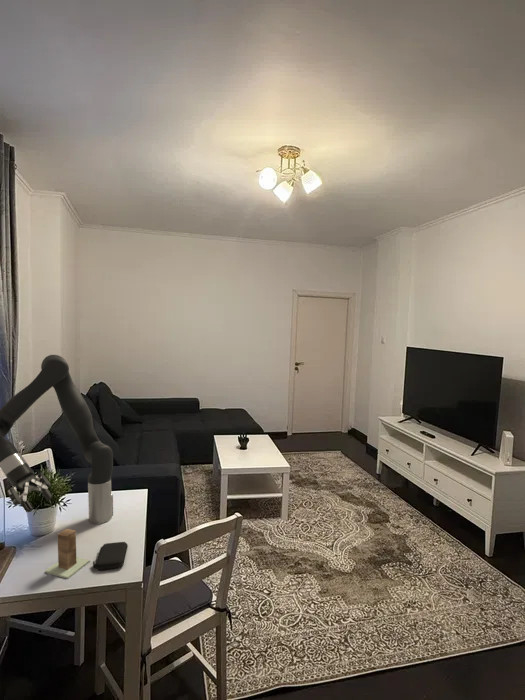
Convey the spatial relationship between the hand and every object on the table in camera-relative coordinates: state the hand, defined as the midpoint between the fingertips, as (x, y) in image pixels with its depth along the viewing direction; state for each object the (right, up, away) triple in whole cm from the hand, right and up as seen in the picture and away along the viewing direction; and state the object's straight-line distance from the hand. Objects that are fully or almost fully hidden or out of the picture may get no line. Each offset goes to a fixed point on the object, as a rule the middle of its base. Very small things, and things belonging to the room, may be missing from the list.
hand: (40, 504), depth 145 cm
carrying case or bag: (+26, -20, 0) cm, 32 cm away
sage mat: (+13, -20, -5) cm, 24 cm away
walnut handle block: (+12, -19, -5) cm, 23 cm away
